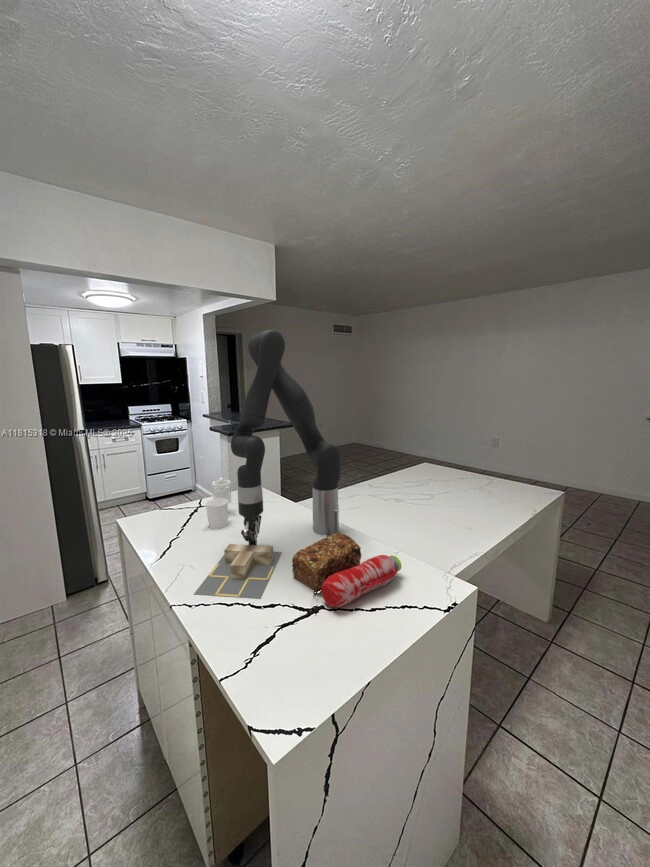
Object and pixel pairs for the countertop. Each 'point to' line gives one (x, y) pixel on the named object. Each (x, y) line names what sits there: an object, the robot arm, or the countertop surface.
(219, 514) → the white cup
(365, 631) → the countertop surface
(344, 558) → the bread
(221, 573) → the board
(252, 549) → the t block
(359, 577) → the water bottle
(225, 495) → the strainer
